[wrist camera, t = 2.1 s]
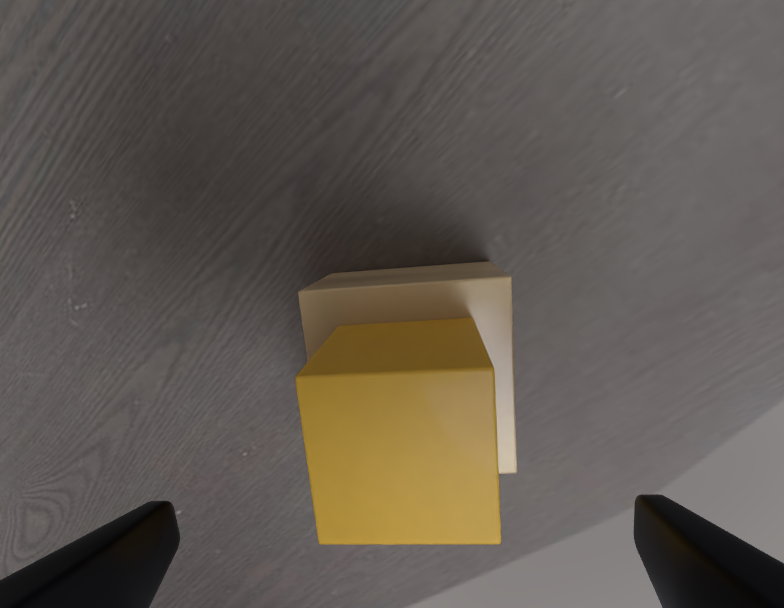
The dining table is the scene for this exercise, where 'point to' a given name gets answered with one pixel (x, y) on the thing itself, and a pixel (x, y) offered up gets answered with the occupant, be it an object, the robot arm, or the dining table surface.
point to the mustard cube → (402, 434)
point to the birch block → (426, 317)
